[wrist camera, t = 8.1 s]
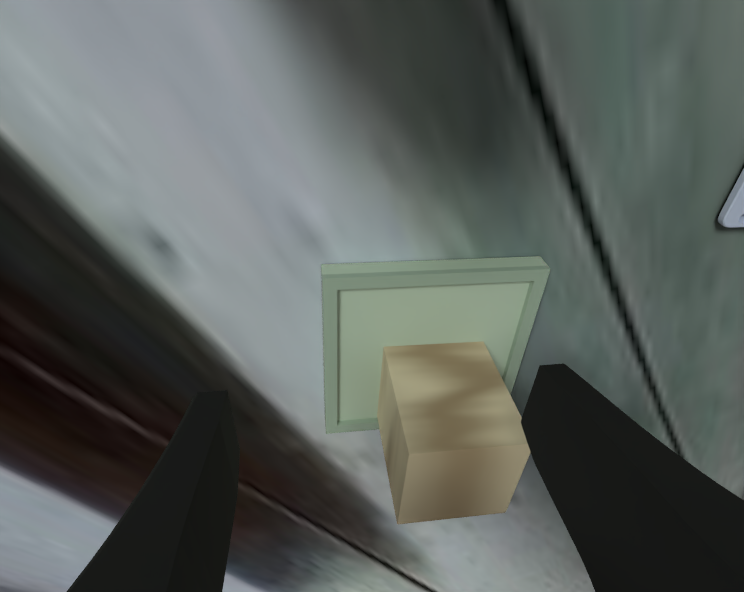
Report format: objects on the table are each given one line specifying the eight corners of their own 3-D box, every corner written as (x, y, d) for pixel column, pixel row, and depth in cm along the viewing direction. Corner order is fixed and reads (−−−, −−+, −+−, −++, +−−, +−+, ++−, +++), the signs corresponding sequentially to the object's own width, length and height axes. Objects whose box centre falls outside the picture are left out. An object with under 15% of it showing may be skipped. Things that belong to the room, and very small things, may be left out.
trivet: (539, 256, 21) (550, 269, 20) (496, 403, 27) (503, 418, 26) (321, 264, 20) (322, 278, 19) (325, 417, 26) (326, 433, 25)
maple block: (483, 341, 23) (534, 443, 18) (465, 409, 26) (505, 512, 21) (383, 346, 22) (409, 454, 17) (376, 415, 25) (397, 524, 20)
